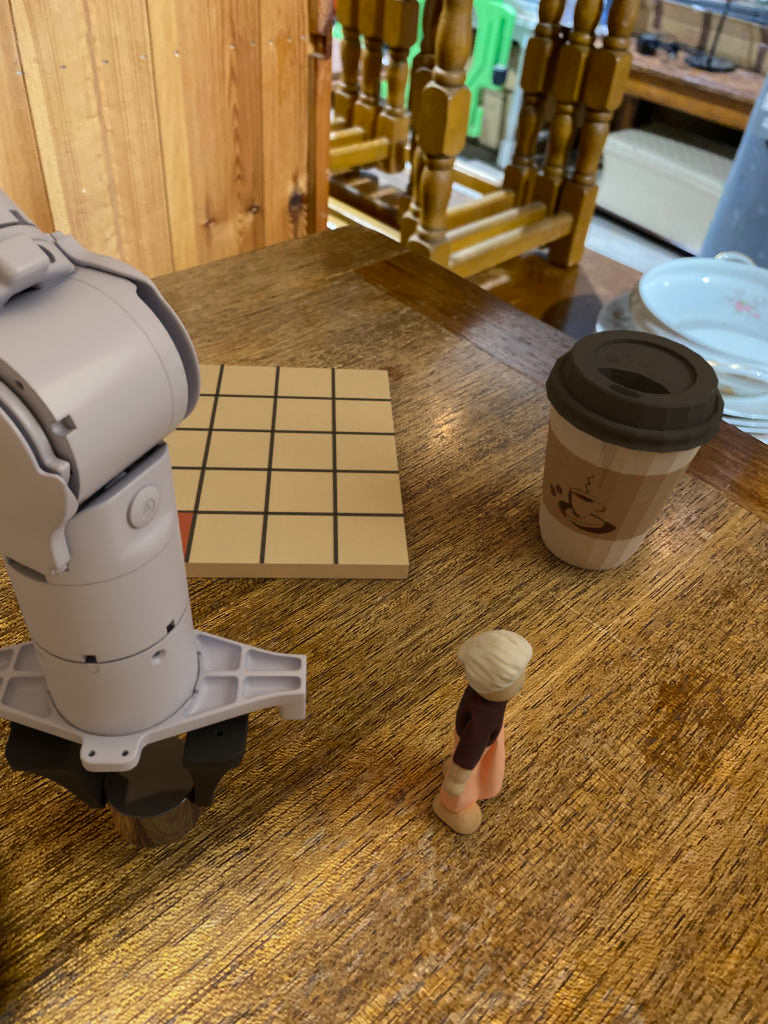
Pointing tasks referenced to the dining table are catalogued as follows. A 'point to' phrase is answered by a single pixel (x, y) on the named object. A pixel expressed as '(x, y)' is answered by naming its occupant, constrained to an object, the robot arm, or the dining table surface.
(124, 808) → the dark grey cylinder
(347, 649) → the dining table surface
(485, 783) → the grandmother figurine
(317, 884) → the dining table surface
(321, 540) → the board
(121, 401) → the robot arm
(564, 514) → the coffee cup
